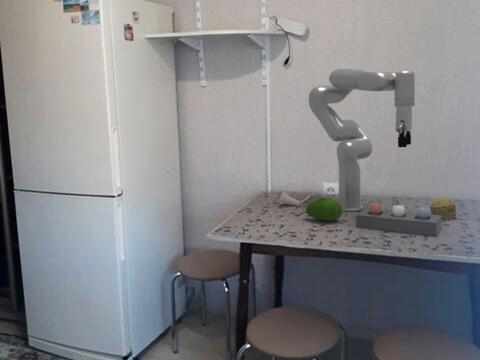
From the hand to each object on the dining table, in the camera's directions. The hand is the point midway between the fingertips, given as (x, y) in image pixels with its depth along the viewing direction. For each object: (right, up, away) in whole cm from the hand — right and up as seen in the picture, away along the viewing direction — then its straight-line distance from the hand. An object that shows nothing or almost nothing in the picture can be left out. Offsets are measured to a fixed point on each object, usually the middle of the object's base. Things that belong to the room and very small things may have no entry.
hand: (404, 145), depth 197 cm
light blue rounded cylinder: (+4, -29, -10) cm, 31 cm away
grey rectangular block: (-4, -32, -5) cm, 33 cm away
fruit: (-31, -31, +9) cm, 45 cm away
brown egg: (-12, -28, -1) cm, 31 cm away
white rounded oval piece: (-4, -29, -5) cm, 30 cm away
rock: (+18, -30, +7) cm, 36 cm away
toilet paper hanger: (-39, -25, +45) cm, 64 cm away
